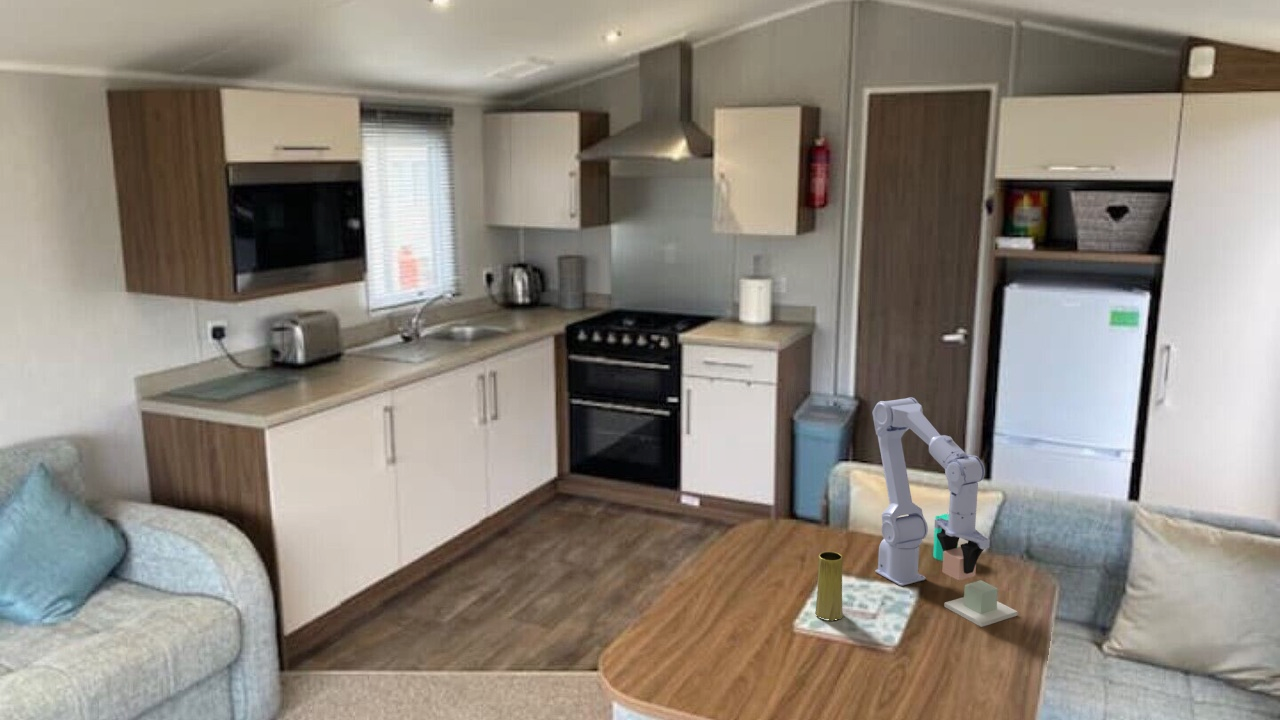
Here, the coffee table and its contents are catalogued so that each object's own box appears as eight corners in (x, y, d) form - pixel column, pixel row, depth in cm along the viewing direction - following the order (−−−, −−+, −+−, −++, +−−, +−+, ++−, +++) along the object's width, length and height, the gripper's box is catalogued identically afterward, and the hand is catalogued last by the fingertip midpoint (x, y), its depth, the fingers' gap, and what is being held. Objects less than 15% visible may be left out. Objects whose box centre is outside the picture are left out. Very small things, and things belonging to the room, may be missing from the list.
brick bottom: (963, 605, 218) (964, 584, 217) (979, 600, 220) (980, 580, 219) (980, 614, 214) (981, 593, 213) (996, 609, 216) (998, 588, 215)
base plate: (944, 606, 219) (944, 602, 219) (979, 596, 224) (979, 592, 224) (981, 627, 210) (981, 622, 210) (1017, 615, 215) (1017, 611, 215)
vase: (811, 618, 215) (813, 558, 212) (819, 606, 220) (821, 548, 217) (838, 623, 212) (840, 563, 209) (846, 612, 218) (848, 553, 215)
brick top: (942, 572, 217) (943, 551, 216) (958, 567, 219) (960, 547, 218) (958, 580, 212) (959, 559, 211) (975, 575, 214) (976, 554, 213)
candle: (954, 552, 249) (957, 508, 247) (959, 561, 243) (962, 517, 241) (930, 551, 250) (933, 508, 247) (935, 561, 244) (937, 516, 241)
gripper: (925, 503, 217) (922, 559, 220) (973, 524, 204) (970, 583, 207) (949, 498, 220) (945, 553, 223) (998, 518, 207) (994, 577, 210)
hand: (959, 567), depth 215 cm, fingers closed on brick top, 5 cm apart
